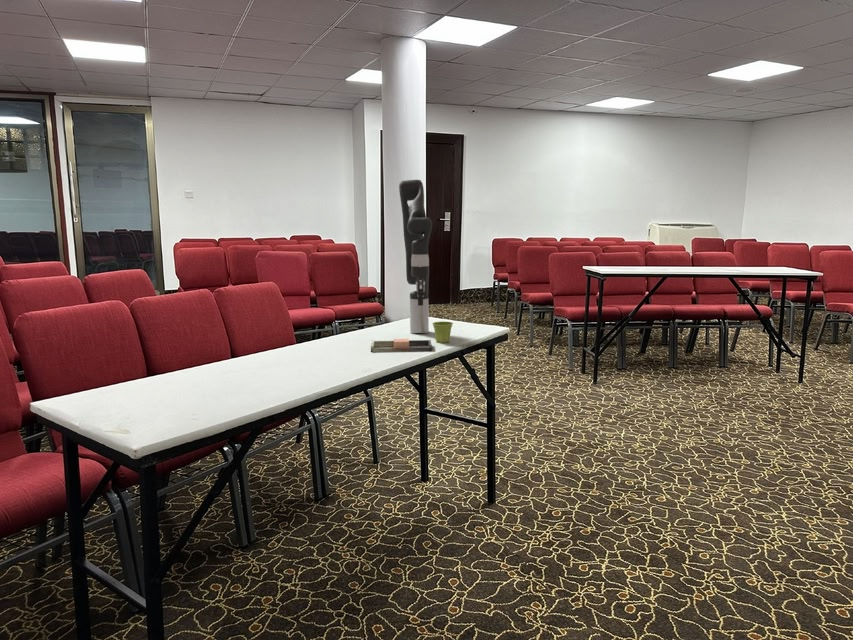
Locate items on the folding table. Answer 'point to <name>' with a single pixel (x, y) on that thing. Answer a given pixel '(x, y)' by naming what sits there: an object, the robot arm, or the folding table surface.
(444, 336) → the plant pot
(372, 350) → the trap track
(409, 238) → the robot arm
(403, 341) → the block
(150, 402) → the folding table surface
